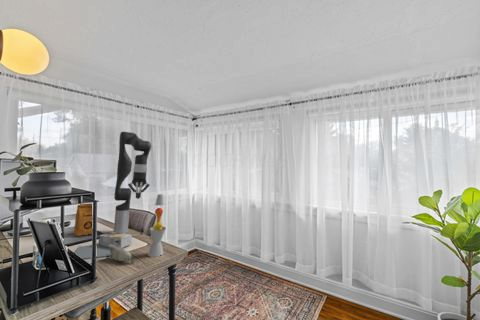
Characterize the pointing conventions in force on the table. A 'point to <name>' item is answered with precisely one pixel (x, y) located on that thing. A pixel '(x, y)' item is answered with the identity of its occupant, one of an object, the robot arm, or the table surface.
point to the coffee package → (83, 220)
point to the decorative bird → (119, 254)
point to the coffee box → (115, 239)
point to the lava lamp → (157, 230)
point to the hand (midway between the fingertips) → (137, 198)
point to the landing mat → (86, 251)
